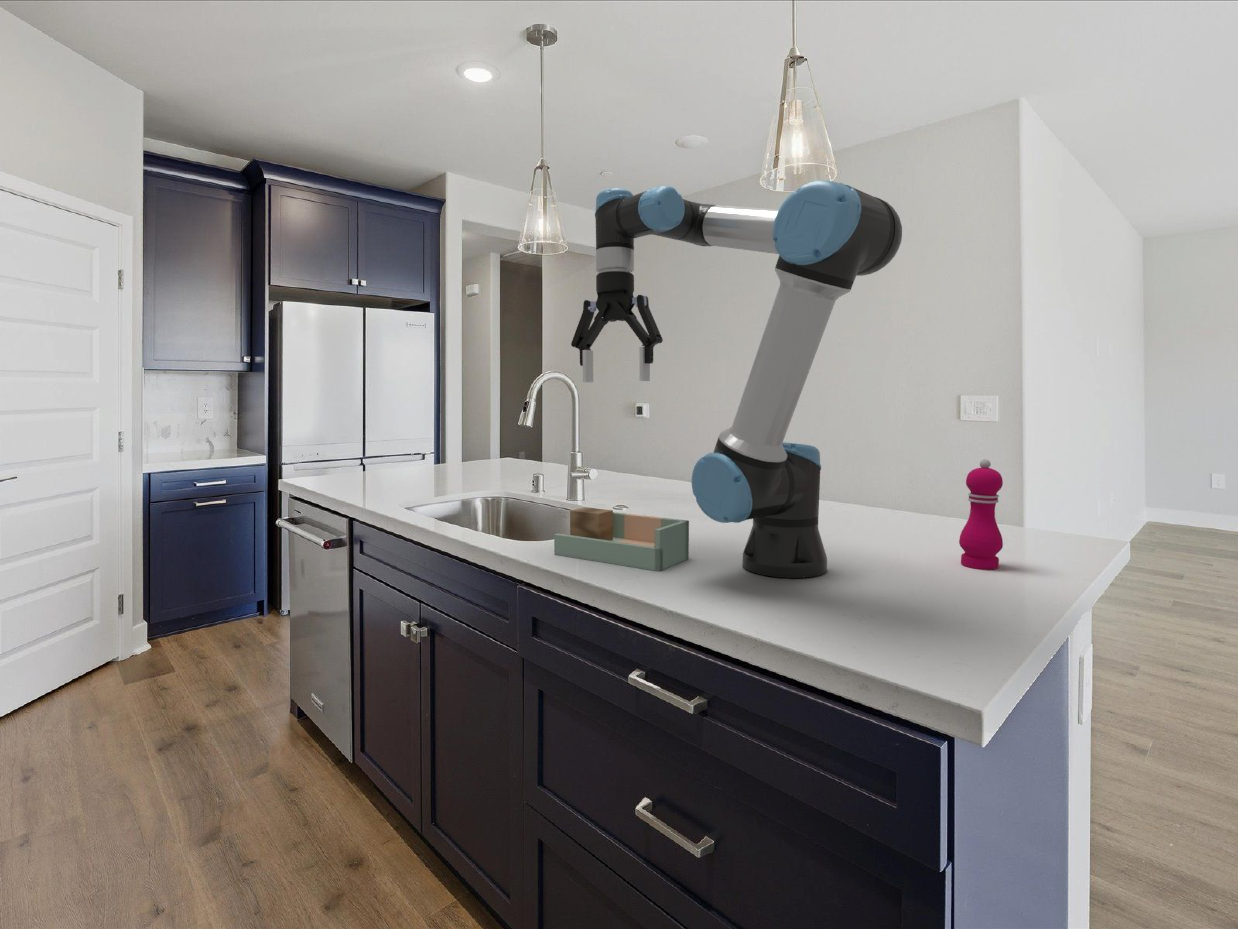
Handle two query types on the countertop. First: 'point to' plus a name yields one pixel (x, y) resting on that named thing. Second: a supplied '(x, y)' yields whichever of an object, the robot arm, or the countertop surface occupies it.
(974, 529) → the pepper mill
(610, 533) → the block
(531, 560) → the countertop surface
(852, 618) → the countertop surface
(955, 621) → the countertop surface
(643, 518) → the green open tray
